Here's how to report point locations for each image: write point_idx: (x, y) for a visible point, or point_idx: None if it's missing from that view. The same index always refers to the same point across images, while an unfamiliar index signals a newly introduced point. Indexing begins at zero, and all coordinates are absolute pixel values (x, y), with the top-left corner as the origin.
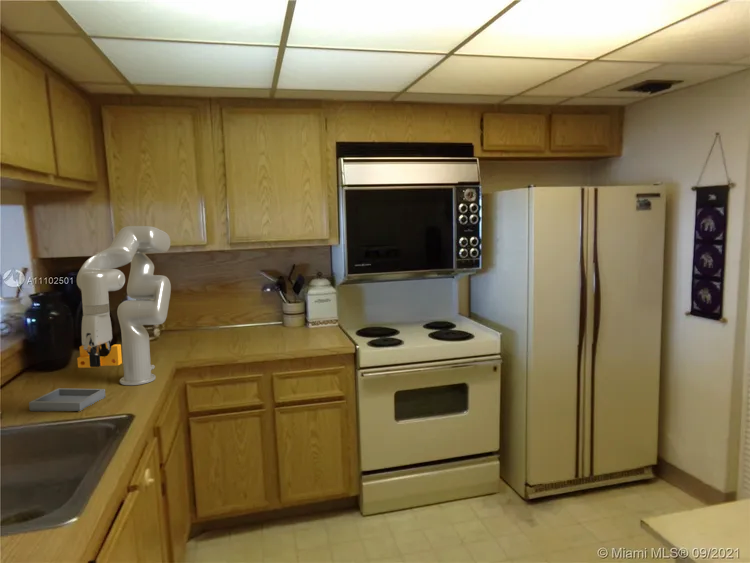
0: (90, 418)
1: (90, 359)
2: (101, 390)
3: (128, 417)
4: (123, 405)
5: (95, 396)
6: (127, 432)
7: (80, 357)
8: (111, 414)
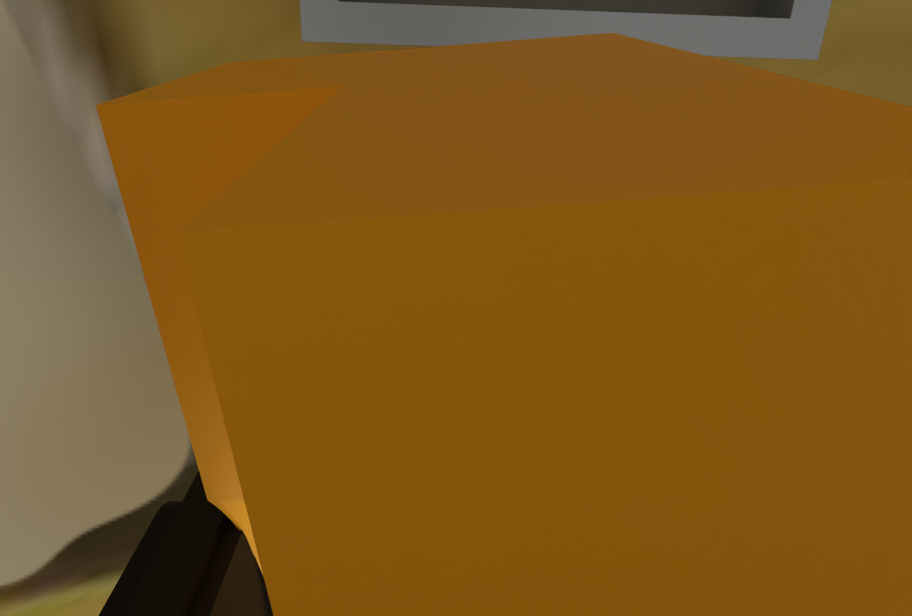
0: None
1: (172, 550)
2: (763, 46)
3: None
4: None
5: None
6: (12, 605)
7: (184, 205)
8: None
